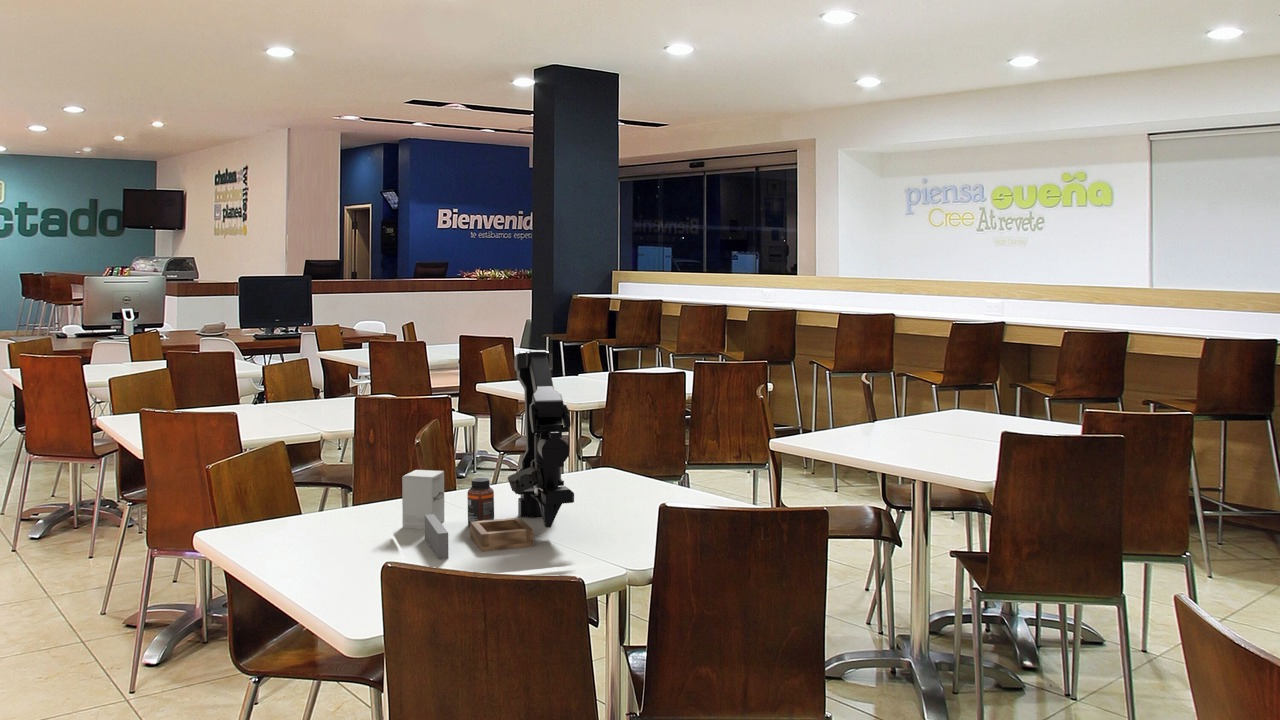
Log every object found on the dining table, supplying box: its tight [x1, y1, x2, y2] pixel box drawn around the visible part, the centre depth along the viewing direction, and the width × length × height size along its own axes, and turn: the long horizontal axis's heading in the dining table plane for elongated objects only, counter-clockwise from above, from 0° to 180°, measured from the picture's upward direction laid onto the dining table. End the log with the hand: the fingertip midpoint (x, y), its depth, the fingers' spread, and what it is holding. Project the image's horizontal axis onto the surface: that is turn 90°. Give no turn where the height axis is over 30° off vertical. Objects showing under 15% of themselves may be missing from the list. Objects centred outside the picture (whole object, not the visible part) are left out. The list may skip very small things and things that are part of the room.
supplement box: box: [401, 469, 445, 530], centre depth 226 cm, size 7×7×13 cm
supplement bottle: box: [467, 477, 495, 528], centre depth 226 cm, size 6×6×11 cm
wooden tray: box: [469, 516, 534, 552], centre depth 213 cm, size 11×11×4 cm
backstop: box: [424, 514, 449, 560], centre depth 211 cm, size 21×16×6 cm
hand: (547, 527), depth 217 cm, fingers closed
